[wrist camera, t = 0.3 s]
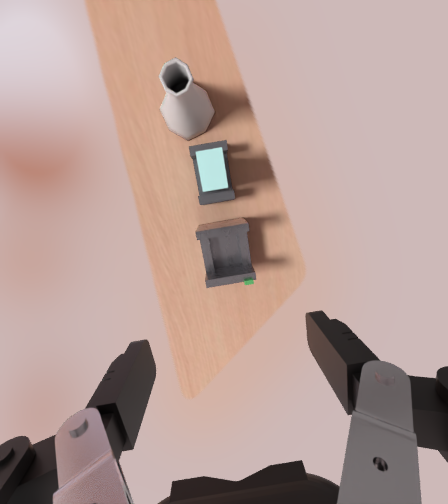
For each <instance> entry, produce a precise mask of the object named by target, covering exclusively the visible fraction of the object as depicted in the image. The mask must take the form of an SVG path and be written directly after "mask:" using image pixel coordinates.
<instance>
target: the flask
mask: <svg viewBox="0 0 448 504" xmlns="http://www.w3.org/2000/svg"><path fill="white" fill-rule="evenodd" d="M159 78H160V80H161V83H162V85H163V87H164V89H165V91H166V95H165V98H164V100H163V102H162V105H161V107H160V111H161V113H162V115H163V118H164V120H165V122H166V124H167V126H168V128H169V130H170V131H172V132H173V133H175V134H177V135H179V136H180V137H182V138H184V139H185V140H187V141H188V140H190V139H192V138H194V137H196V136H198V135H200V134H202V133H204V132H206V130H207V128H208V126H209V124H210V122H211V119H212V117H213V115H214V113H215V111H214V109H213V106H212V104H211V101H210V99H209V97H208V94H207V92H206V91H205V90H204V89H202V88H201V87H199V86H198V85H196V84H194V83H193V80H194V79H193V77H192V74H191V72H190V69H189V67H188V65H187V64H185V63H184V62H182V61H181V60H179V59H178V58H176V57H175V58H174V59H172V60H170V61H168V62H166V63H164V65H163V68H162V70H161V72H160V75H159Z"/></svg>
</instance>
